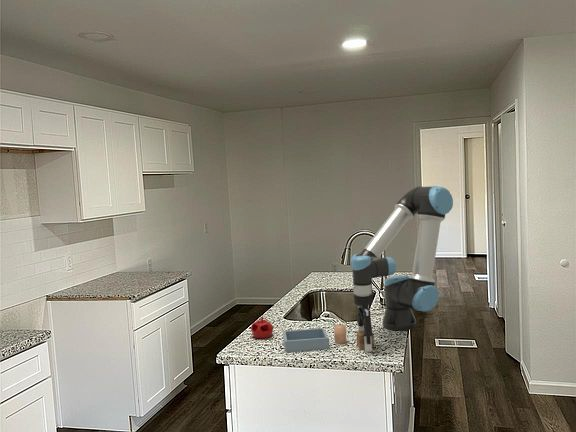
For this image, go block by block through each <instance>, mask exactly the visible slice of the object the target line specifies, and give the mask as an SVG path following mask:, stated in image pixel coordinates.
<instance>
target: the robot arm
mask: <svg viewBox="0 0 576 432" xmlns="http://www.w3.org/2000/svg"><path fill="white" fill-rule="evenodd" d="M453 206H454V199H453V195H452V194H451V192H450V190H449V189H448V188H445V187H443V186H416V187H413V188H411V189H410V190H408V191H407V192H406V193H405V194H403V196H402V197H400V199H399V200H398V201H397V202H396V204H395V205H394V209H393V211H392V212H391V214H390V215H388V218H386V220H384V222H383V224H382V225H381V226H380V227H379V229H378V230H377V231H376V233H375V234H374V235H373V236H372V237H371V239H370V240H369V241H368V243H367V244H366V246H365V247H364V248H363V249H362V251H361V252H360V253H355V254H353V255H352V256H351V258H350V263H349V264H350V266H351V270H352V282H353V284H352V285H353V286H352V287H351V289H352V290H353V294H354V295H353V304H354V305H356V307H357V308H356V309H357V313H356V323H357V331H364V332H365V334H364V335H363V336H364V341H365V350H364V352H365V353H367V352H369V353H370V352H373V349H372V339H371V336H373V334H374V333H373V328H372V327H373V326H372V316H371V310H370V308H369V306H370V305H372V304H373V281H372V280H373V279H376V278H381V277H386V278H385V280H384V296H385V312H384V315H383V318H382V327H383V328H384V329H387V330H391V331H397V332H398V331H400V332H401V331H410V330H413V329H415V328H417V320H416V317H415V315H414V312H413V310H415V311H418V312H419V311H420V312H424V313H425V312H430V311H431V310H433V309H434V308H435V307H436V305H437V304H438V302H439V298H440V294H439V291H438V288H437V287H436V286H435V285H436V280H435V279H434V278H433V273H434V267H435V262H436V255H437V249H438V248H437V247H438V243H439V242H438V241H439V235H440V228H441V223H442V222H443V221H444V220H446V215H447V214H448V213H450V211H452V209H453ZM416 214H417V217H418V218H419V220H420V221H419V227H418V233H417V239H416V246H415V253H414V258H413V266H412V271H411V272H412V273H411V274H410V275H404V274H403V275H394V274H395V273H396V270H397V263H396V261H395V259H394V258H393V257H391V256H387V257H386V256H384V257H381V255H382V254H383V253H384V252H385V250H386V249H387V248H388V246H389V245H390V243H392V241H393V240H394V239H395V238H396V236H397V235H398V234H399V232H400V231H401V229H402V228H403V227H404V226H405V224H406V223H407V222H408V221H409V220H411V219H413V218H414V216H416ZM391 275H393V276H391ZM388 276H389V277H388ZM368 332H369V333H368ZM372 333H373V334H372Z"/></svg>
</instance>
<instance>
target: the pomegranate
mask: <svg viewBox="0 0 576 432" xmlns="http://www.w3.org/2000/svg"><path fill="white" fill-rule="evenodd" d="M264 318H265V317H264V316H261V318H260V319H255V320H254V322H253V323H252V324H251V327H250V330H251V334H252V335H253V336H252V337H254V338H256V339H267V338H270V337H271V336H272V334H273V333H274V332H273V331H274V326H273V324H272V323H271V322H270V321H269V320H268V319H267V318H265V319H264Z"/></svg>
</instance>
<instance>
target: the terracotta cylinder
mask: <svg viewBox="0 0 576 432" xmlns="http://www.w3.org/2000/svg"><path fill="white" fill-rule="evenodd" d="M333 332H334V335H333V337H334V344H336V345H346V343H347V342H348V341H347V326H346V325H345V324H336V325H334V326H333Z"/></svg>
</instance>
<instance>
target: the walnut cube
mask: <svg viewBox="0 0 576 432" xmlns="http://www.w3.org/2000/svg"><path fill="white" fill-rule="evenodd" d="M355 332H356V334H355V335H356V346H357V348H358V349H359V350H360V351H365V341H364V336H363V335H364V334H365V332H364V331H358V330H356V331H355ZM368 333H369V332H368ZM372 334H373V336H371V339H372V350H375V334H374V333H373V332H372Z"/></svg>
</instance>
